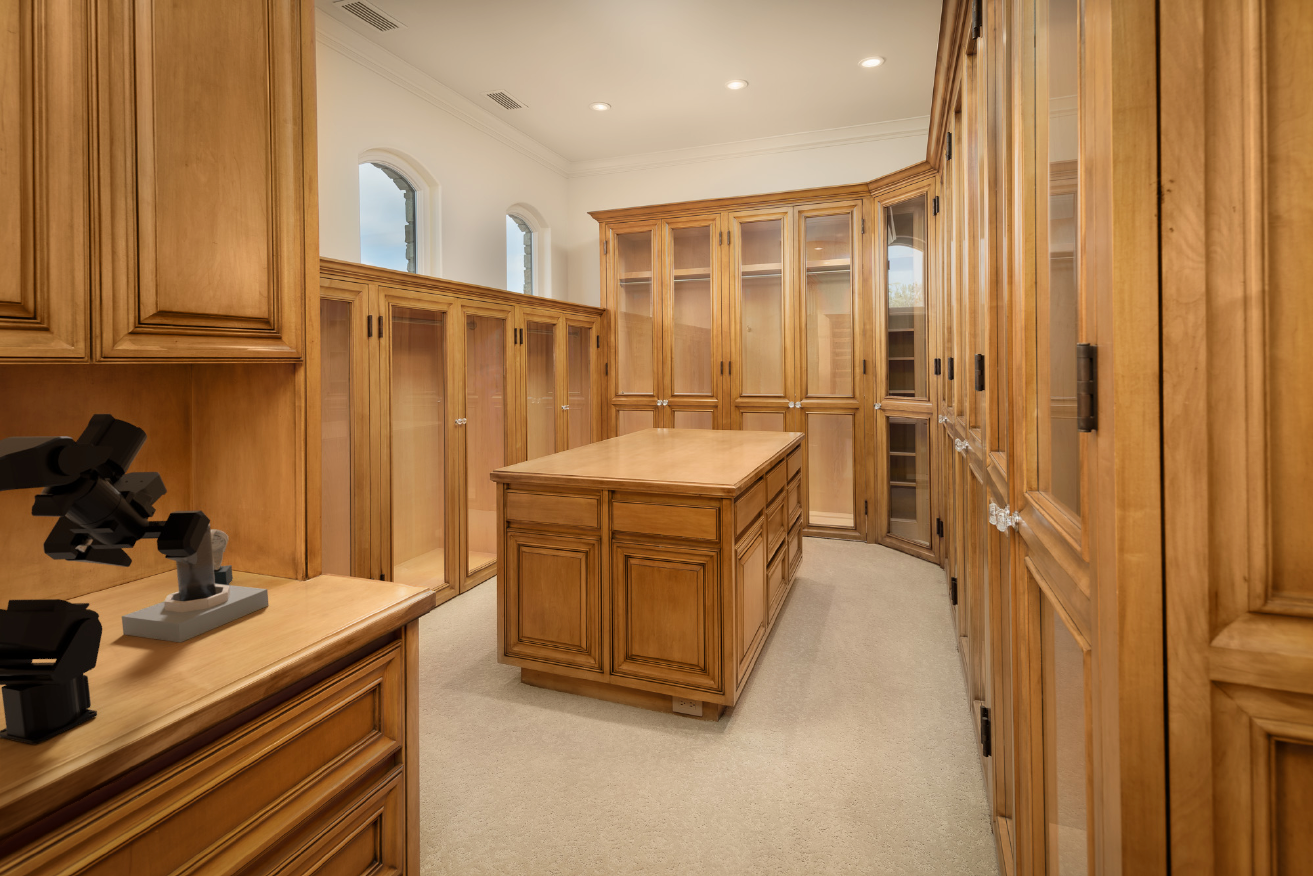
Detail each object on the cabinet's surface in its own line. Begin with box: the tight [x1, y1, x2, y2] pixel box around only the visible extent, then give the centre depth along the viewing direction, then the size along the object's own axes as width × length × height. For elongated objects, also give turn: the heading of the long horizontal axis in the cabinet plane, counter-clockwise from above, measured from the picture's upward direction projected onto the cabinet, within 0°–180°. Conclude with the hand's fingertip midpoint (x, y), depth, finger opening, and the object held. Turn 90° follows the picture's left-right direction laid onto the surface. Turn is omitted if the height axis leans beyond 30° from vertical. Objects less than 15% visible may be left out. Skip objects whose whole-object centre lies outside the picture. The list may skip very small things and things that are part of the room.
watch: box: [210, 528, 234, 585], centre depth 124 cm, size 6×8×11 cm
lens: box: [175, 523, 216, 601], centre depth 107 cm, size 5×5×13 cm
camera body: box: [121, 584, 270, 643], centre depth 108 cm, size 16×12×4 cm
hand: (162, 562), depth 94 cm, fingers open, 9 cm apart
